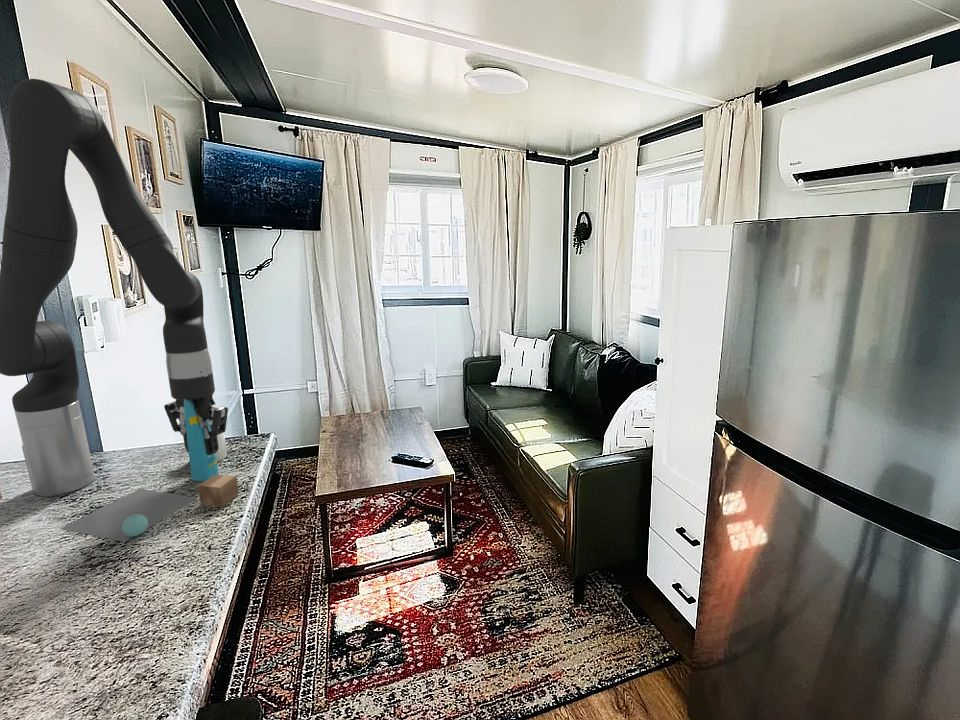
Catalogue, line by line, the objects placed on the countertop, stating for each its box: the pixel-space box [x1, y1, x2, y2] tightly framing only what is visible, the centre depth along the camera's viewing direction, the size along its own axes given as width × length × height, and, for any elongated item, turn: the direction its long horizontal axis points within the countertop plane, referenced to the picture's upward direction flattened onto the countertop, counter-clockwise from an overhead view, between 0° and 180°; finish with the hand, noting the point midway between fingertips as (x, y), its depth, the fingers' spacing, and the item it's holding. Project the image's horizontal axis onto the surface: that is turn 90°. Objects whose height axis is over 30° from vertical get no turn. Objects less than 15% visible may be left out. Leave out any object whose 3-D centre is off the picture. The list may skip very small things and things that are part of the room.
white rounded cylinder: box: [215, 432, 228, 463], centre depth 105 cm, size 7×7×8 cm
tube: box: [184, 399, 220, 482], centre depth 94 cm, size 7×5×19 cm, turn 13°
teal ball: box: [122, 514, 148, 538], centre depth 76 cm, size 4×4×4 cm
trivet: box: [61, 488, 198, 543], centre depth 83 cm, size 14×14×1 cm
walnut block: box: [197, 474, 240, 507], centre depth 87 cm, size 4×4×4 cm
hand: (202, 451), depth 95 cm, fingers closed on tube, 4 cm apart
